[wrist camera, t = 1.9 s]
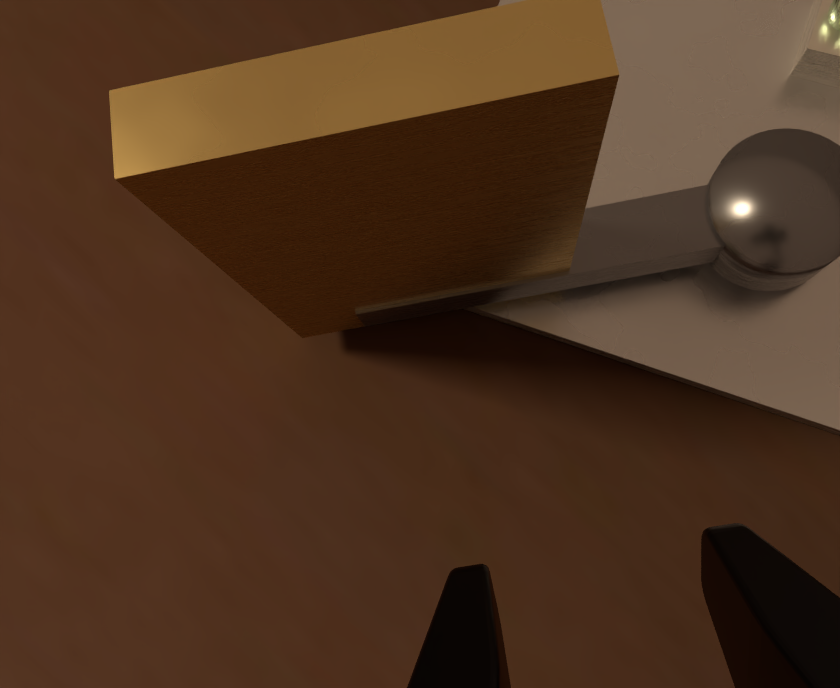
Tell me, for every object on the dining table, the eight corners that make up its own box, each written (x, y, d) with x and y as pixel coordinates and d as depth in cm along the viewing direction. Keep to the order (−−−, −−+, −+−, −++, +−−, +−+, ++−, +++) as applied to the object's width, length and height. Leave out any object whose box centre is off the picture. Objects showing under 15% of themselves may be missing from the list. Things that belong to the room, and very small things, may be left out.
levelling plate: (960, 19, 23) (1023, -48, 20) (846, 437, 21) (899, 426, 18) (536, -77, 26) (539, -149, 23) (391, 284, 23) (375, 253, 21)
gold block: (814, 150, 22) (1108, -197, 11) (854, 276, 21) (1218, 30, 10) (291, 252, 23) (104, 27, 12) (306, 376, 22) (119, 249, 11)
